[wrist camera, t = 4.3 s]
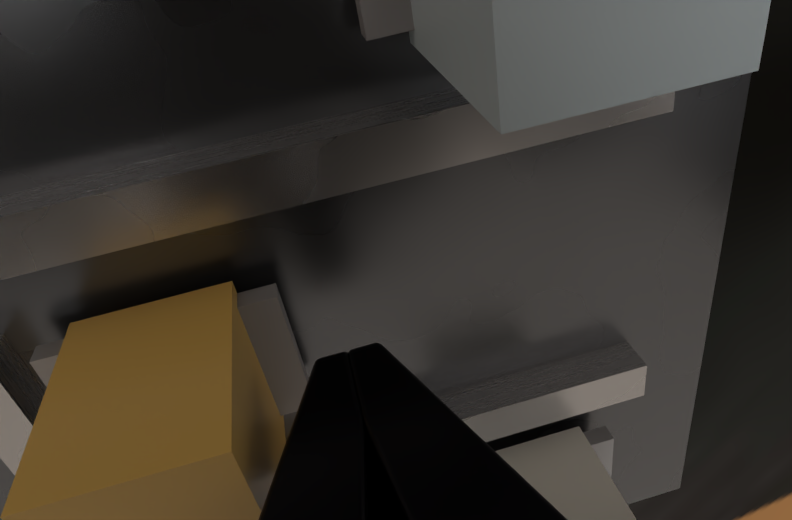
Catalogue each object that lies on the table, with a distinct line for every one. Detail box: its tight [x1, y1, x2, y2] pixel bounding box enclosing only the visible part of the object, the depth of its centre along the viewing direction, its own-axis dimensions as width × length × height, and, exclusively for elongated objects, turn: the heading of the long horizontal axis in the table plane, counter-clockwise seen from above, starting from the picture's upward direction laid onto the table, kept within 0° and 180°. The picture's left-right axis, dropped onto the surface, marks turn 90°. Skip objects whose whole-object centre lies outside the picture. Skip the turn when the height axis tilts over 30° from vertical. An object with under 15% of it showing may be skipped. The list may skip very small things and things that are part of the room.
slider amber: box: [0, 281, 309, 520], centre depth 7 cm, size 3×2×3 cm
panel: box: [0, 0, 752, 520], centre depth 9 cm, size 12×14×2 cm
